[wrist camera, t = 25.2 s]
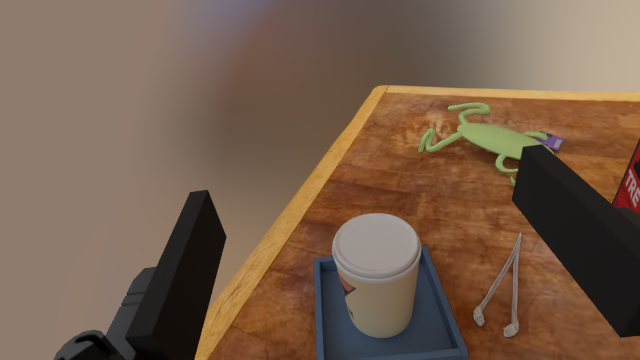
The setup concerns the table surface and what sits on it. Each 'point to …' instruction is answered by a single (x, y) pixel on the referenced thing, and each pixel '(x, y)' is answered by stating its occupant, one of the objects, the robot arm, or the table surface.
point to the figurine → (491, 137)
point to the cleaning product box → (630, 185)
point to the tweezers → (514, 325)
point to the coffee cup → (378, 272)
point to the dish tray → (394, 352)
